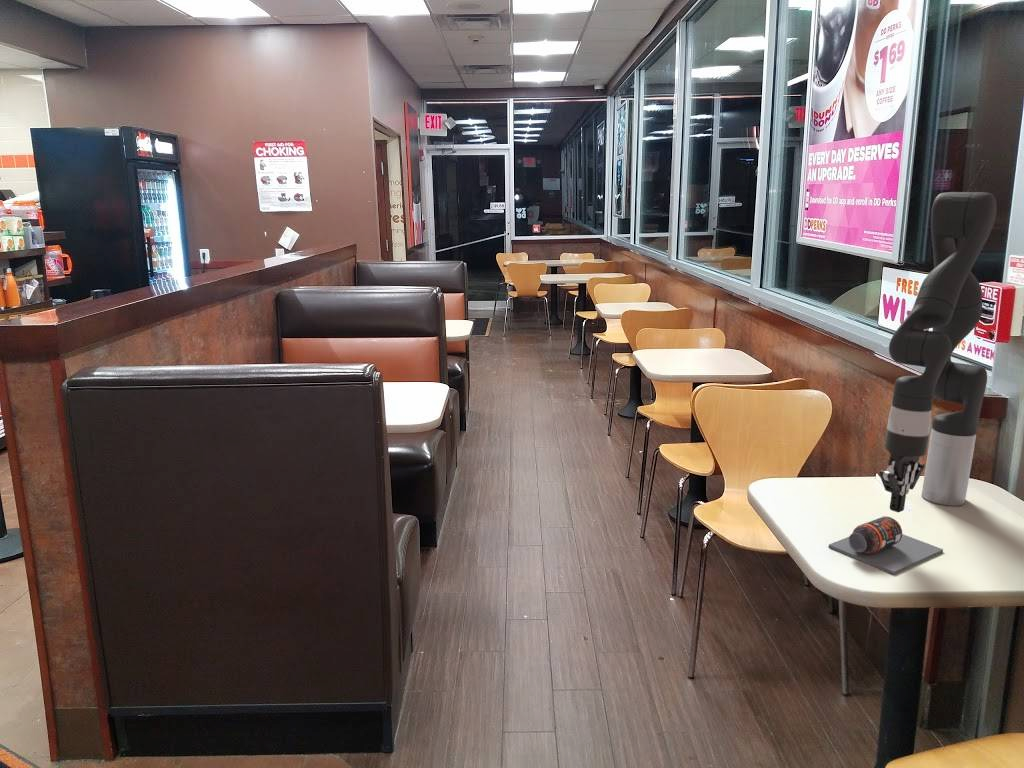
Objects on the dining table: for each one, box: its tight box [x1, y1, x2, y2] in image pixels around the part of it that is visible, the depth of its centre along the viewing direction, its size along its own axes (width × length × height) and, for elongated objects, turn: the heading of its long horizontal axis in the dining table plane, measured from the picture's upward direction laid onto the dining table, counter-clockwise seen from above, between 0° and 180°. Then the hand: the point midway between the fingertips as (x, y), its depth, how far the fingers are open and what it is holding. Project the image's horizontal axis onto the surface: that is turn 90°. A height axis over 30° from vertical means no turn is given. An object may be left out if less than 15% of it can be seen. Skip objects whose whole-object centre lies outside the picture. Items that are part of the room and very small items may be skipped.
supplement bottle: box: [848, 516, 903, 554], centre depth 154 cm, size 6×6×11 cm
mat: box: [828, 533, 944, 576], centre depth 156 cm, size 18×14×1 cm
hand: (896, 510), depth 156 cm, fingers closed
